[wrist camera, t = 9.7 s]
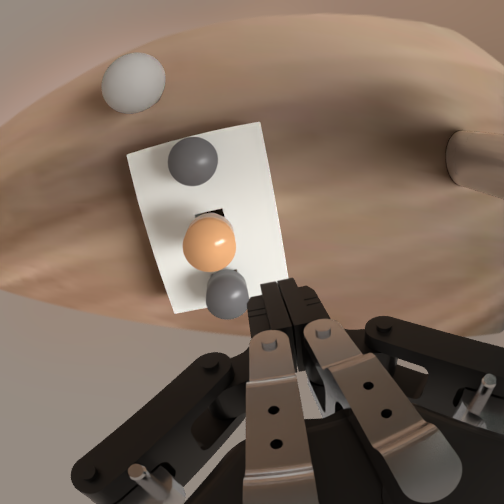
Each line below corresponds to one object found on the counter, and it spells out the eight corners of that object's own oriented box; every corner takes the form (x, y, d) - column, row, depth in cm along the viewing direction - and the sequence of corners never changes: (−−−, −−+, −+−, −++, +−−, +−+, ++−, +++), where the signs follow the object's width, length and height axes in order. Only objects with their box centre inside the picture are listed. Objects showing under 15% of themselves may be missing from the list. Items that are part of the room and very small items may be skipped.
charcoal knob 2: (239, 248, 36) (244, 277, 28) (246, 279, 38) (253, 314, 30) (204, 255, 36) (200, 286, 28) (213, 286, 38) (212, 323, 30)
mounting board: (254, 125, 32) (260, 121, 27) (281, 271, 38) (290, 289, 34) (139, 153, 31) (126, 154, 27) (179, 293, 38) (174, 313, 33)
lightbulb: (174, 120, 30) (153, 108, 20) (126, 121, 30) (87, 112, 19) (180, 72, 28) (163, 41, 18) (131, 74, 27) (97, 48, 17)
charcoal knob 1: (214, 135, 31) (211, 131, 23) (222, 172, 33) (222, 179, 25) (177, 144, 31) (162, 144, 23) (185, 180, 33) (174, 191, 25)
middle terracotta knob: (227, 197, 31) (229, 215, 23) (235, 235, 32) (241, 265, 24) (187, 206, 31) (176, 228, 23) (197, 244, 32) (190, 276, 24)
